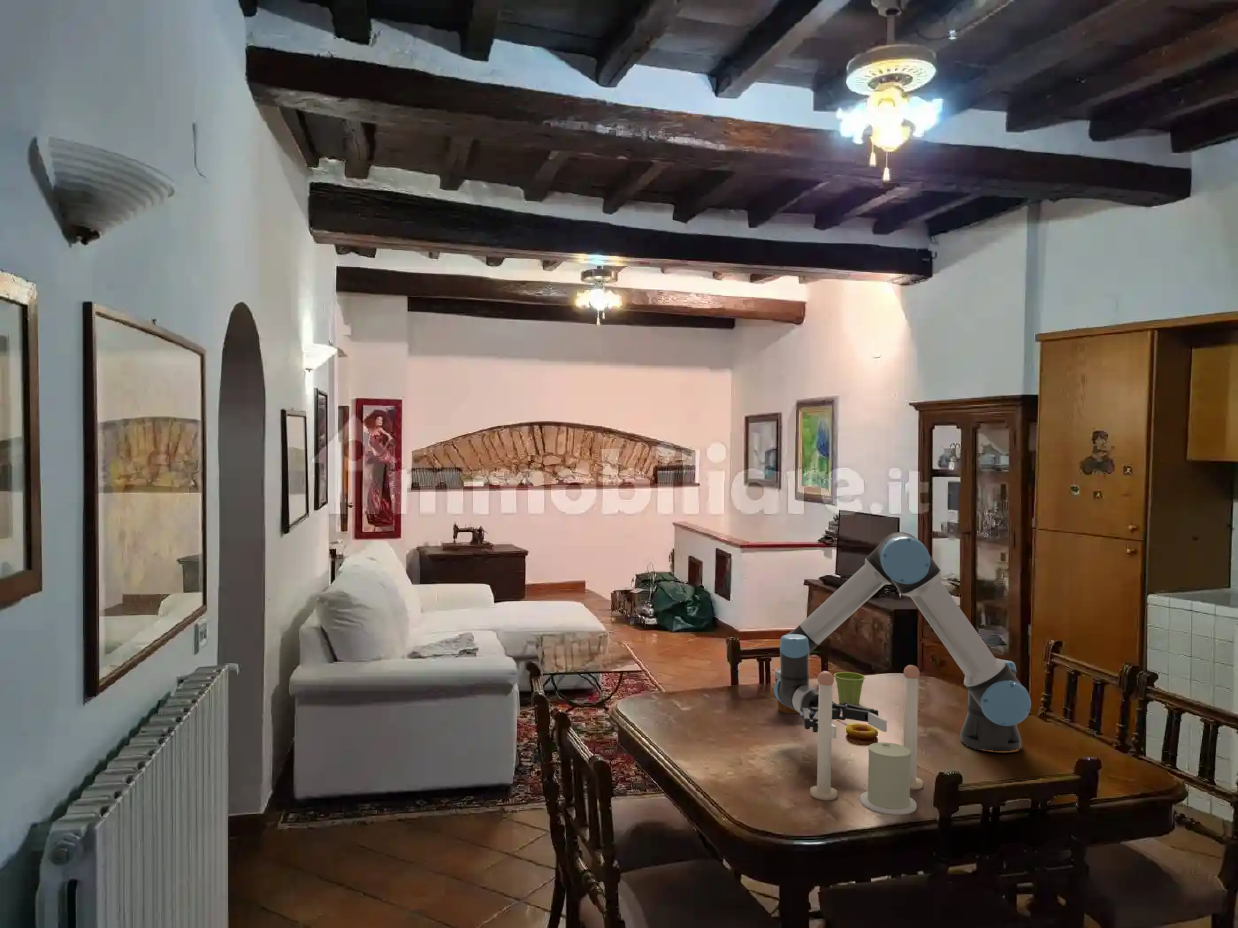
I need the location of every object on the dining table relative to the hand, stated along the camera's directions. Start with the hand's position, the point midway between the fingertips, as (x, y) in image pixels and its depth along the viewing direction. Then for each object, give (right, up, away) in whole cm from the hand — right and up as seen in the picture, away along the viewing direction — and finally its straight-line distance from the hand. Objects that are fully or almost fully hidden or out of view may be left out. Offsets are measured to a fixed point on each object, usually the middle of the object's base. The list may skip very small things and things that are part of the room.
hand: (860, 729), depth 199 cm
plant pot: (+15, -13, +67) cm, 70 cm away
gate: (+1, -13, -2) cm, 14 cm away
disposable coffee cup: (-5, -13, +59) cm, 60 cm away
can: (+4, -13, -9) cm, 17 cm away
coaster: (+4, -14, -9) cm, 17 cm away
